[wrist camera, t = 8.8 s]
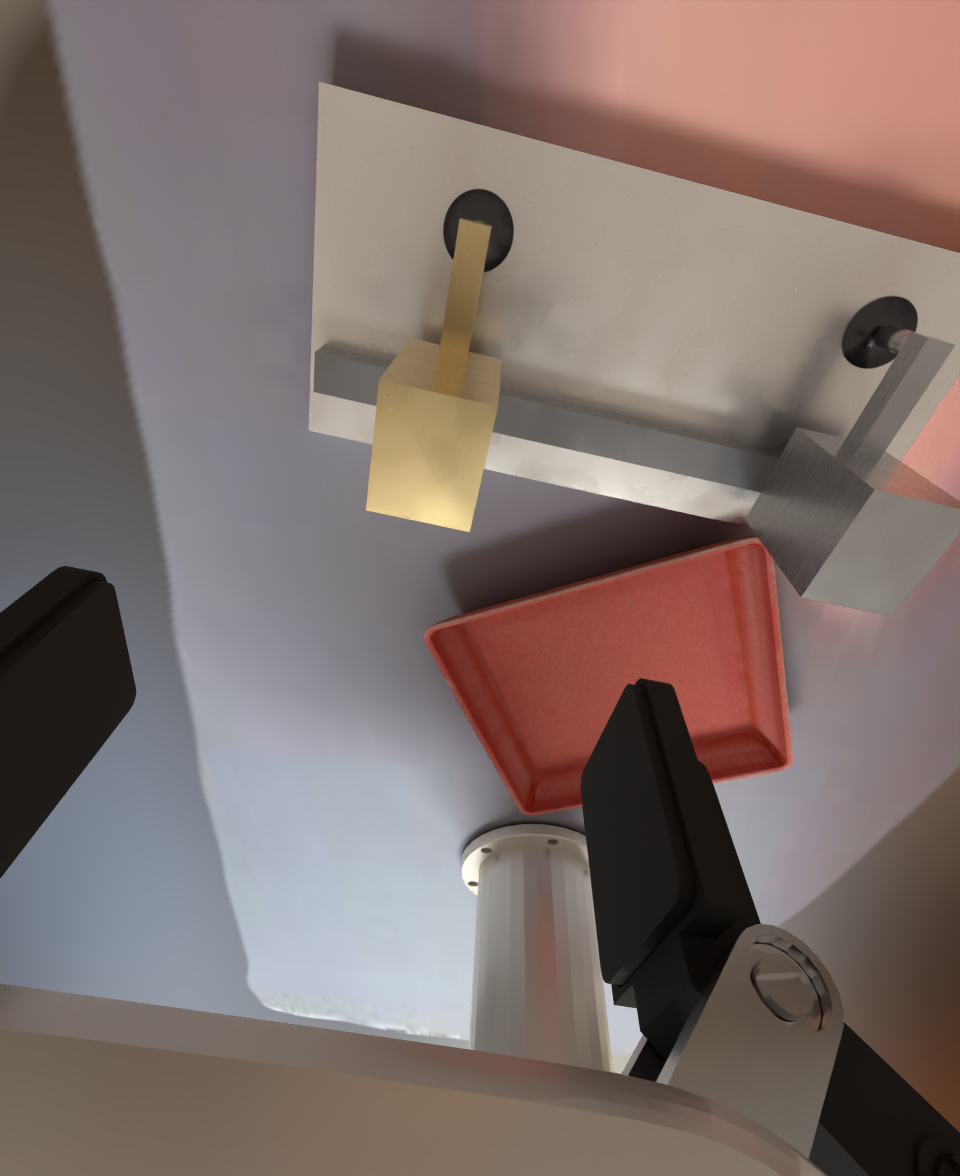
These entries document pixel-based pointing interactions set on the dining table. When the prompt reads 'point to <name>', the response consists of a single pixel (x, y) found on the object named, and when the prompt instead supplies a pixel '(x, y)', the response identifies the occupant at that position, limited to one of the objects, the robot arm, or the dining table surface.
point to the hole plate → (648, 337)
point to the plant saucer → (625, 667)
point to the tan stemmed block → (438, 408)
